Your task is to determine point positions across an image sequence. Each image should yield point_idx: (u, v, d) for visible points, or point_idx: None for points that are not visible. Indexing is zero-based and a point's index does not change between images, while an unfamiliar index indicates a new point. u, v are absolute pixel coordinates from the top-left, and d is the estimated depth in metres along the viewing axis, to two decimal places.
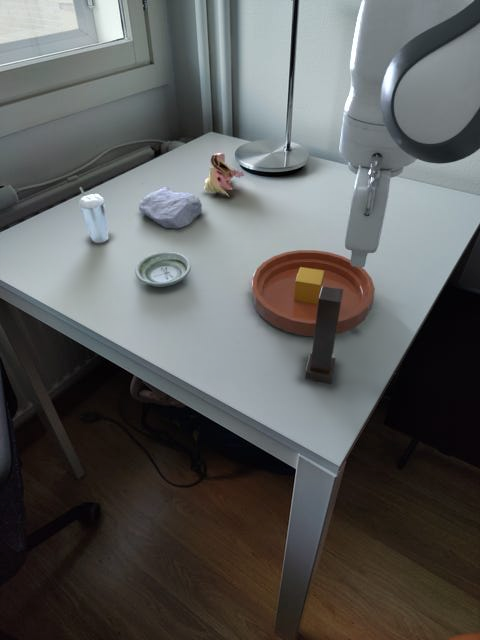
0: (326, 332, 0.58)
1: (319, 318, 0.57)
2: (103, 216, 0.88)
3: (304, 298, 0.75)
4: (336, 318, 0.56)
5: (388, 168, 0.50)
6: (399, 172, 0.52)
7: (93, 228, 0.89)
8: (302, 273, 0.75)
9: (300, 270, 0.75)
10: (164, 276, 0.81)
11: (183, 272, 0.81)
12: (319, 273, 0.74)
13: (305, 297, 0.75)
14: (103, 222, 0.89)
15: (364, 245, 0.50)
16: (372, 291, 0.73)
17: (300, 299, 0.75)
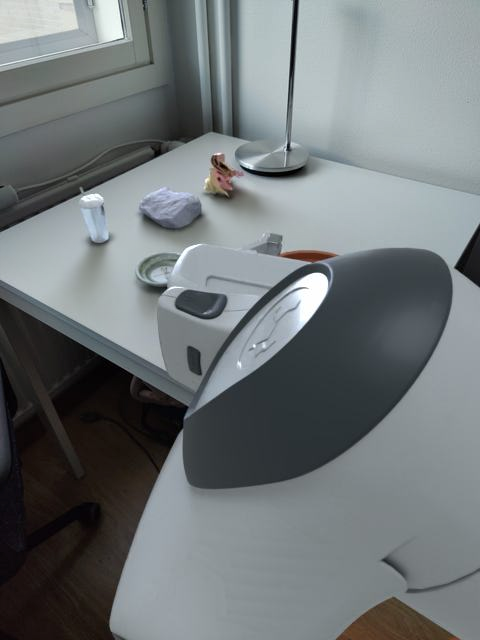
0: None
1: None
2: (103, 216, 0.88)
3: None
4: None
5: None
6: None
7: (93, 228, 0.89)
8: None
9: None
10: (164, 276, 0.81)
11: None
12: None
13: None
14: (103, 222, 0.89)
15: None
16: None
17: None
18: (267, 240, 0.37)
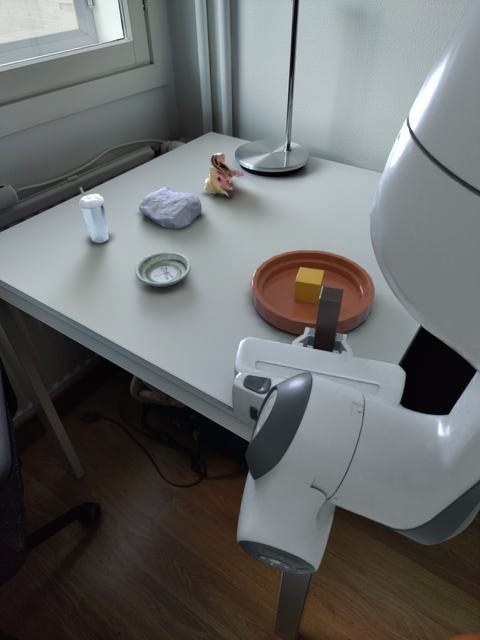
0: (327, 332, 0.58)
1: (319, 318, 0.57)
2: (103, 216, 0.88)
3: (304, 298, 0.75)
4: (336, 318, 0.56)
5: None
6: None
7: (93, 228, 0.89)
8: (302, 273, 0.75)
9: (300, 270, 0.75)
10: (164, 276, 0.81)
11: (183, 272, 0.81)
12: (319, 273, 0.74)
13: (305, 297, 0.75)
14: (103, 222, 0.89)
15: None
16: (372, 291, 0.73)
17: (300, 299, 0.75)
18: (308, 334, 0.60)
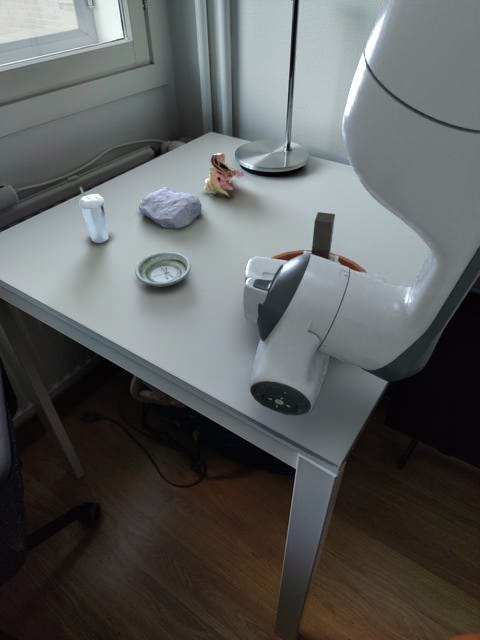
0: (321, 252, 0.69)
1: (315, 238, 0.68)
2: (103, 216, 0.88)
3: None
4: (329, 238, 0.67)
5: None
6: None
7: (93, 228, 0.89)
8: None
9: None
10: (164, 276, 0.81)
11: (183, 272, 0.81)
12: None
13: None
14: (103, 222, 0.89)
15: None
16: None
17: None
18: None
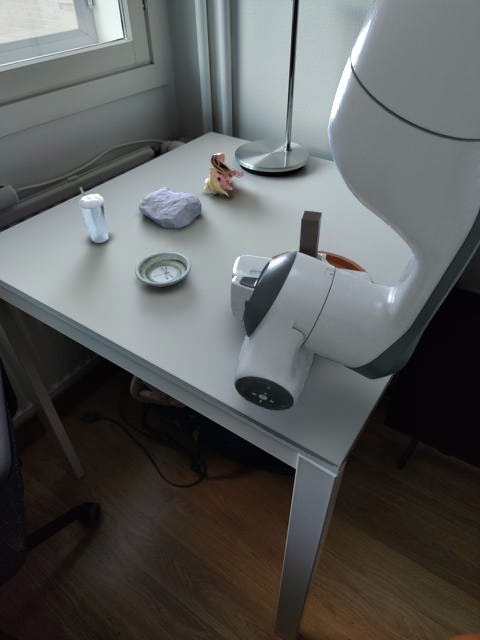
0: (309, 250, 0.70)
1: (302, 237, 0.69)
2: (103, 216, 0.88)
3: None
4: (316, 236, 0.68)
5: None
6: None
7: (93, 228, 0.89)
8: None
9: None
10: (164, 276, 0.81)
11: (183, 272, 0.81)
12: None
13: None
14: (103, 222, 0.89)
15: None
16: None
17: None
18: None
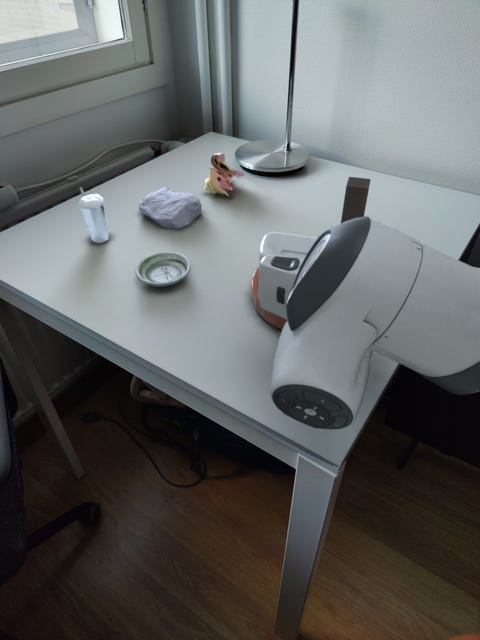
0: None
1: (345, 209, 0.56)
2: (103, 216, 0.88)
3: None
4: (363, 208, 0.55)
5: None
6: None
7: (93, 228, 0.89)
8: None
9: None
10: (164, 276, 0.81)
11: (183, 272, 0.81)
12: None
13: None
14: (103, 222, 0.89)
15: None
16: None
17: None
18: None
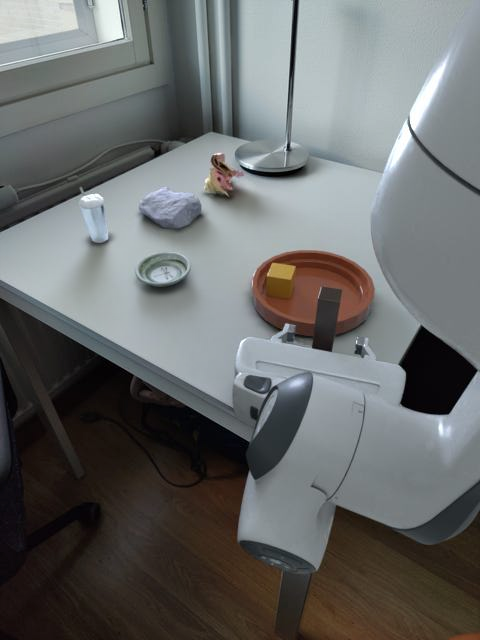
0: (326, 332, 0.58)
1: (318, 318, 0.57)
2: (103, 216, 0.88)
3: (276, 293, 0.76)
4: (335, 318, 0.56)
5: None
6: None
7: (93, 228, 0.89)
8: (273, 268, 0.76)
9: (272, 265, 0.76)
10: (164, 276, 0.81)
11: (183, 272, 0.81)
12: (290, 268, 0.76)
13: (276, 292, 0.76)
14: (103, 222, 0.89)
15: None
16: (372, 291, 0.73)
17: (272, 294, 0.76)
18: (287, 330, 0.60)
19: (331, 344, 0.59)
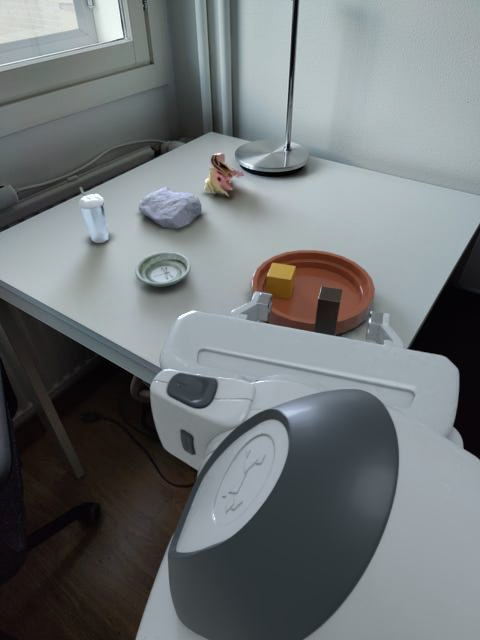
0: (326, 332, 0.58)
1: (318, 318, 0.57)
2: (103, 216, 0.88)
3: (276, 293, 0.76)
4: (335, 318, 0.56)
5: None
6: (321, 388, 0.28)
7: (93, 228, 0.89)
8: (273, 268, 0.76)
9: (272, 265, 0.76)
10: (164, 276, 0.81)
11: (183, 272, 0.81)
12: (290, 268, 0.76)
13: (276, 292, 0.76)
14: (103, 222, 0.89)
15: None
16: (372, 291, 0.73)
17: (272, 294, 0.76)
18: (257, 301, 0.37)
19: None
